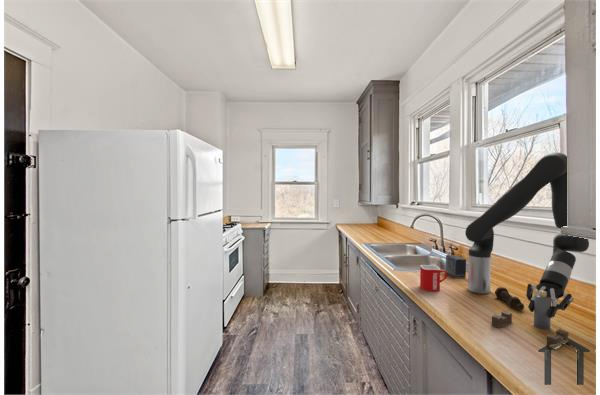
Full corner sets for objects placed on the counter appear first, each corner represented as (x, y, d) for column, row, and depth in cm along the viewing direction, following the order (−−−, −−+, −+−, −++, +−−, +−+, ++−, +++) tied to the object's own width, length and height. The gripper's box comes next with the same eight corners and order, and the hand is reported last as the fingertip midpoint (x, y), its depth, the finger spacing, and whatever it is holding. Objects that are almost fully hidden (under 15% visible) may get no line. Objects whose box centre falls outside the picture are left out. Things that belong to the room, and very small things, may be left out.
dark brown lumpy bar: (518, 315, 127) (498, 300, 142) (530, 310, 126) (509, 295, 141) (511, 303, 127) (492, 289, 142) (523, 298, 126) (503, 284, 141)
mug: (423, 291, 150) (424, 269, 150) (418, 285, 158) (419, 264, 158) (449, 291, 149) (449, 270, 148) (443, 286, 157) (443, 265, 157)
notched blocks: (504, 319, 119) (504, 310, 119) (568, 342, 102) (568, 332, 102) (491, 325, 114) (491, 316, 114) (555, 350, 97) (556, 339, 97)
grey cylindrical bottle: (537, 322, 117) (538, 288, 116) (552, 327, 112) (554, 292, 112) (531, 325, 114) (532, 290, 114) (546, 330, 110) (548, 294, 109)
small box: (466, 278, 170) (467, 259, 170) (455, 278, 170) (455, 259, 169) (455, 272, 181) (456, 254, 180) (444, 272, 180) (445, 254, 180)
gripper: (531, 265, 122) (514, 301, 117) (577, 275, 110) (561, 315, 104) (537, 276, 125) (521, 312, 120) (583, 287, 113) (567, 327, 107)
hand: (540, 313), depth 112 cm, fingers open, 5 cm apart
